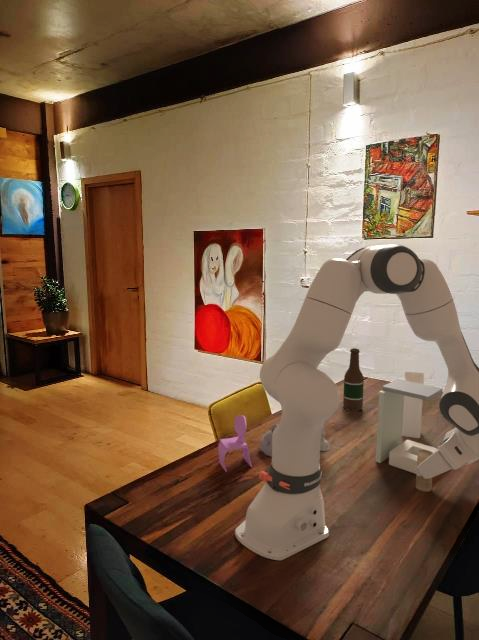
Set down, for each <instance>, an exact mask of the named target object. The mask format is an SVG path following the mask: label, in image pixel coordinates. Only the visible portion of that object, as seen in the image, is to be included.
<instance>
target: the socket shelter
mask: <svg viewBox="0 0 479 640" xmlns="http://www.w3.org/2000/svg"><path fill="white" fill-rule="evenodd" d="M443 391H444V389H443V387H442V388H441V387H436V386H432V385H428V384H424V385H423V384H419V383H414V382H409V381H405V379H404V380H403V379H399V378H397V379H395V380H393V381H391V382H389V383H386V384H384V385H382V390H380V391H378V406H377V425H376V444H375V445H376V447H375V448H376V449H375V462H376V463H379V464H381V463H383V462H384V461H385V460H387V459H388V466H389V465H390V466H392V467H394V468H398V469H402V470H404V471H407V472H410V473H412V474H415V475H416V473H415V470H416V469H417V457H418V451H419V450H428V451H431V452H433V453H434V452H435V451H436V450H437V449H438V447H434V446H431V445H427V444H423V443H421V442H417V441H414V440H411V439H406V440H405V441H403V436H402V428H403V411H404V395H405V396H409V397H414V398H418V399H422V400H423V401H426V402H429V401H431V400H432V399H434V398H436V397H437V396H439V395H442V394H443Z"/></svg>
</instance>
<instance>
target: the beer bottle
mask: <svg viewBox="0 0 479 640" xmlns="http://www.w3.org/2000/svg"><path fill="white" fill-rule="evenodd" d="M349 352H350V356H349V365H348V369H347V370H346V371H345V374H344V377H343V398H342V399H343V403H342V405H343V408H344V409H345V410H348V411H354V412H355V411H356V412H357V411H360V410H363V406H364V405H363V404H364V384H365V383H364V376H363V373H362V371H361V368H360V349H359V348H350V351H349Z"/></svg>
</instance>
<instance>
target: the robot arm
mask: <svg viewBox="0 0 479 640" xmlns="http://www.w3.org/2000/svg"><path fill="white" fill-rule="evenodd" d="M447 283H448V282H447V281H446V279H445V277H444V275H443V273H442V271H441V270H440V268H439V267H438V266H437V263H435V262H434V261H433V260H430V259H427V258H426V259H425V258H420V257H418V255H417V254H416V252H414V251H413V250H412V249H410V248H409V247H407V246H405V245H402V244H397V243H396V244H395V243H392V244H374V245H371V246H370V245H369V246H367V247H361V248H359V249H358V250H356V251H354V252H353V253H351V255H349V256H348V257H346V259H343V258H331V259H328V260H326V261H325V262H324V263H323V264H322V265H321V267H320V268H319V270H318V271H317V273H316V274H315V276H314V278H313V281H311V284H310V286H309V287H308V288H309V289H308V291H307V293H306V295H305V298H304V300H303V303H302V304H301V305H302V306H301V308H300V310H299V313H298V315H297V318H296V320H295V322H294V325H293V326H292V329H291V330H290V332H289V334H288V336H286V339H285V340H284V342H283V343H282V344H281V345H280V347H279V348H278V350H277V351H276V353H274V354H273V355H271V356H270V357H268V358H266V360H264V362H263V363H262V364H261V368H260V371H259V378H260V379H259V380H260V383H261V385H262V386H263V388H264V390H265V392H266V393H267V394H268V395H269V396H270V397H271V398H273V399H274V400H276V402H278V403H280V407H281V418H280V421H279V423H278V425H279V426H277V427H276V428H275V429H274V431H273V434H272V457H271V462H270V465H269V467H268V472H266V471H264V470H262V471H260V473H259V476H258V477H259V478H258V479H259V480H260V481H264V482H265V483H264V485H263V486H262V487H261V489H259V492H258V493H257V494H256V495H255V497H254V499H253V500H252V501H251V503H250V504H249V506H248V507H247V509H246V515H245V519H244V520H243V521H242V522H241V523H240V524H239V525H238V526H237V527H236V528H235V529H234V531H235V532H234V535H235V538H236V539H237V540H238V542H239V543H241V545H243V546H244V547H245V548H247V549H248V550H250V551H251V552H253V553H255V554H256V555H259V556H261V557H263V558H265V559H270V560H275V561H283V560H285V559H287V558H289V557H292V556H293V555H296V554H297V553H299V552H301V551H303V550H305V549H307V548H310V547H311V546H313V545H315V544H317V543H319V542H322V541H323V540H325V539H327V538H329V536H330V530H329V528H328V526H327V525H326V516H325V515H326V512H325V500H324V496H323V493H322V490H321V486H320V485H321V482H322V476H323V475H322V467H321V466H322V465H321V464H320V455H321V451H320V439H321V433H322V429H323V426H324V427H325V423H326V422H325V421H326V420H327V419H328V420H329V419H330V418H332V417H333V416H334V414H336V413H337V410H339V409H338V408H339V406H340V403H341V392H340V389H339V387H338V386H337V384H336V383H335V382H334V381H333V380H332V378H331V377H330V376H328V374H327V373H326V372H324V371H322V370H320V369H318V368H319V365H320V364H321V362H322V361H323V360H324V358H326V356H328V354H330V353H331V352H333V351H335V350H337V349H338V348H339V347H340V344H341V342H342V339H343V338H344V335H345V332H346V330H347V329H348V325H349V323H350V320H351V318H352V315H353V312H354V309H355V307H356V304H357V301H358V300H359V299H360V297H361V296H362V295H363V294H364V293H365V292H369V293H372V294H380V295H381V294H382V295H383V294H385V295H386V294H391V295H396V296H397V297H398V299H399V300H400V303H401V306H402V310H403V312H404V313H403V314H404V316H405V318H406V320H407V323H408V325H409V327H410V329H411V331H412V333H413V334H414V335H415V336H416V337H417V338H419V339H421V340H422V341H423V340H424V341H427V342H434V343H435V344H436V345H437V347H438V349H439V351H440V353H441V356H442V357H443V361H444V363H445V365H446V367H447V373H448V374H447V380H446V385H445V387H444V389H443V391H442V393H441V398H440V399H439V400H440V401H439V405H438V407H439V412H440V413H441V415H442V417H443V418H444V419H445V420H446V421H447V422H449V424H450V425H452V426H453V427H454V428H452V429H450V430H449V431H447V432H445V434H444V438H443V440H442V441H441V443H440V444H439V445H438V446H437V450H436V451H435V452H434V453H433V454H432V455H430V456H429V457H428V458H427V459H425V460H424V461H423V462H422V463H420V464H419V465H418V466H417V469H416V470H415V473H416V474H415V473H414V474H415V475H417V476H421V475H422V476H423V477H424V478H425V479H430V478H432V479H433V478H434V477H437V476H439V475H441V474H443V473H446V472H448V471H451V470H452V469H453V470H454V471H457V470H458V469H460V468H462V467H464V466H468V465H470V464H472V463H474V462H476V461H478V460H479V366H478V365H477V364H476V363H475V361H474V359H473V356H472V355H471V352H470V349H469V347H468V344H467V342H466V339H465V337H464V335H463V332H462V329H461V325H460V322H459V317H458V311H457V308H456V304H455V302H454V298H453V295H452V293H451V291H450V288H449V285H448V284H447ZM328 420H327V421H328Z"/></svg>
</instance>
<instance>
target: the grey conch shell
mask: <svg viewBox="0 0 479 640" xmlns="http://www.w3.org/2000/svg"><path fill="white" fill-rule="evenodd" d="M277 426H279V423H275V424H272V427H271V429H269V430H267V431H266V433H265V434H262V436H261V439H260V444H259V448H260V450H261V451H262V452H263V454H264V455H265V456H269V457H270V458H272V434H273V431H274V429H275V428H276V427H277Z"/></svg>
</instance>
